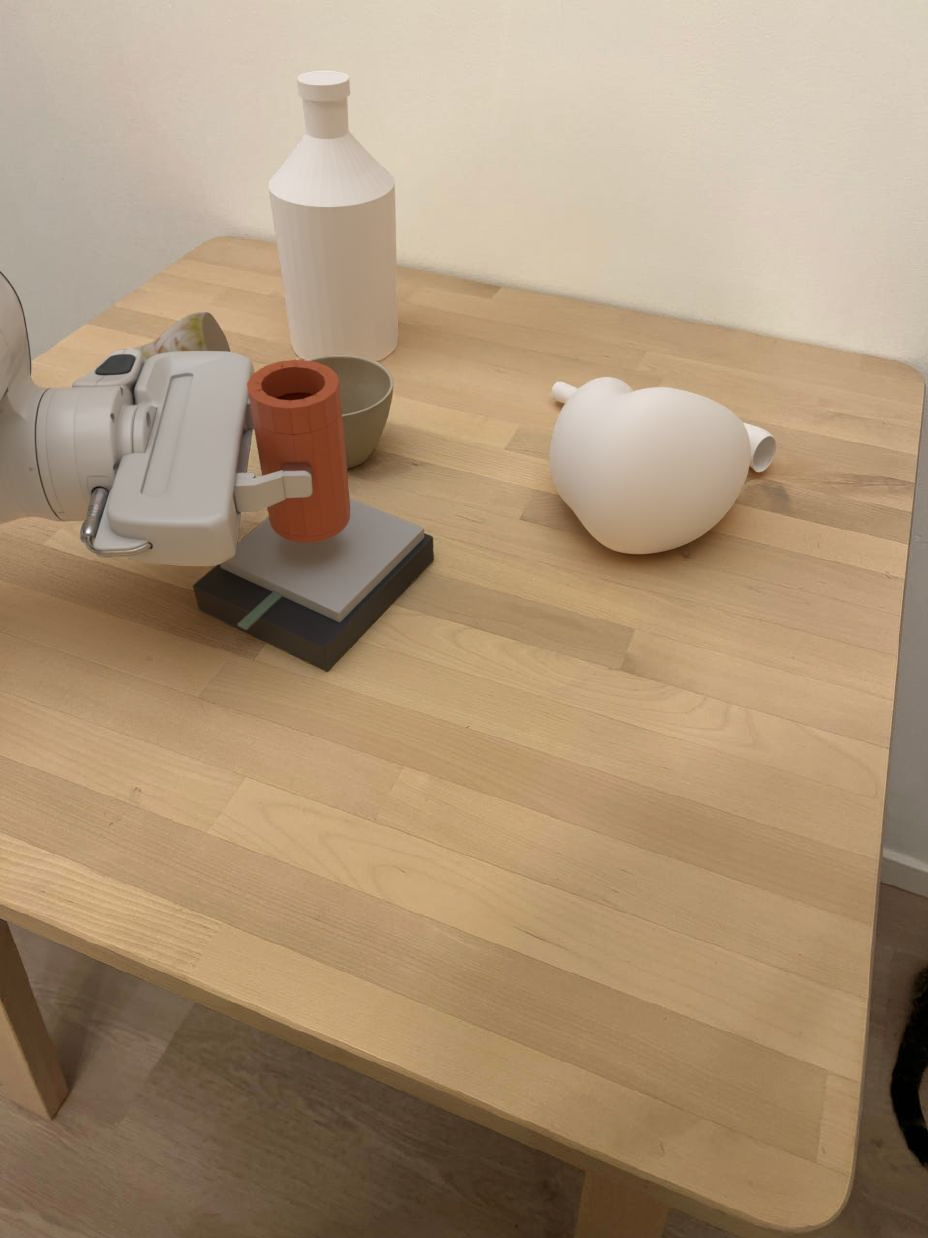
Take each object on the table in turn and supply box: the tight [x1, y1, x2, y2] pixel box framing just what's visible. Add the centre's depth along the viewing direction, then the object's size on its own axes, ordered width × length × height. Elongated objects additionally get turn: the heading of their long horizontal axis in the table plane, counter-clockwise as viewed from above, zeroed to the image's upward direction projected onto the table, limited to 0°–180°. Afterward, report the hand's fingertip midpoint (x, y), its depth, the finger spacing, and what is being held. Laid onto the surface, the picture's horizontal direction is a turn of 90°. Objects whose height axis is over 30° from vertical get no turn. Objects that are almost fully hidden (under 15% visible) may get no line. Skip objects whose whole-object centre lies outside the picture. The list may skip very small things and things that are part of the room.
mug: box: [132, 311, 232, 362], centre depth 90 cm, size 8×10×10 cm
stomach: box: [548, 376, 777, 555], centre depth 80 cm, size 23×13×24 cm
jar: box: [247, 359, 351, 543], centre depth 64 cm, size 6×6×11 cm
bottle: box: [267, 69, 399, 363], centre depth 90 cm, size 12×12×25 cm
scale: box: [192, 498, 434, 672], centre depth 70 cm, size 12×16×4 cm
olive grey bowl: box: [304, 355, 394, 469], centre depth 82 cm, size 10×10×7 cm
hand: (314, 447), depth 63 cm, fingers closed on jar, 6 cm apart
